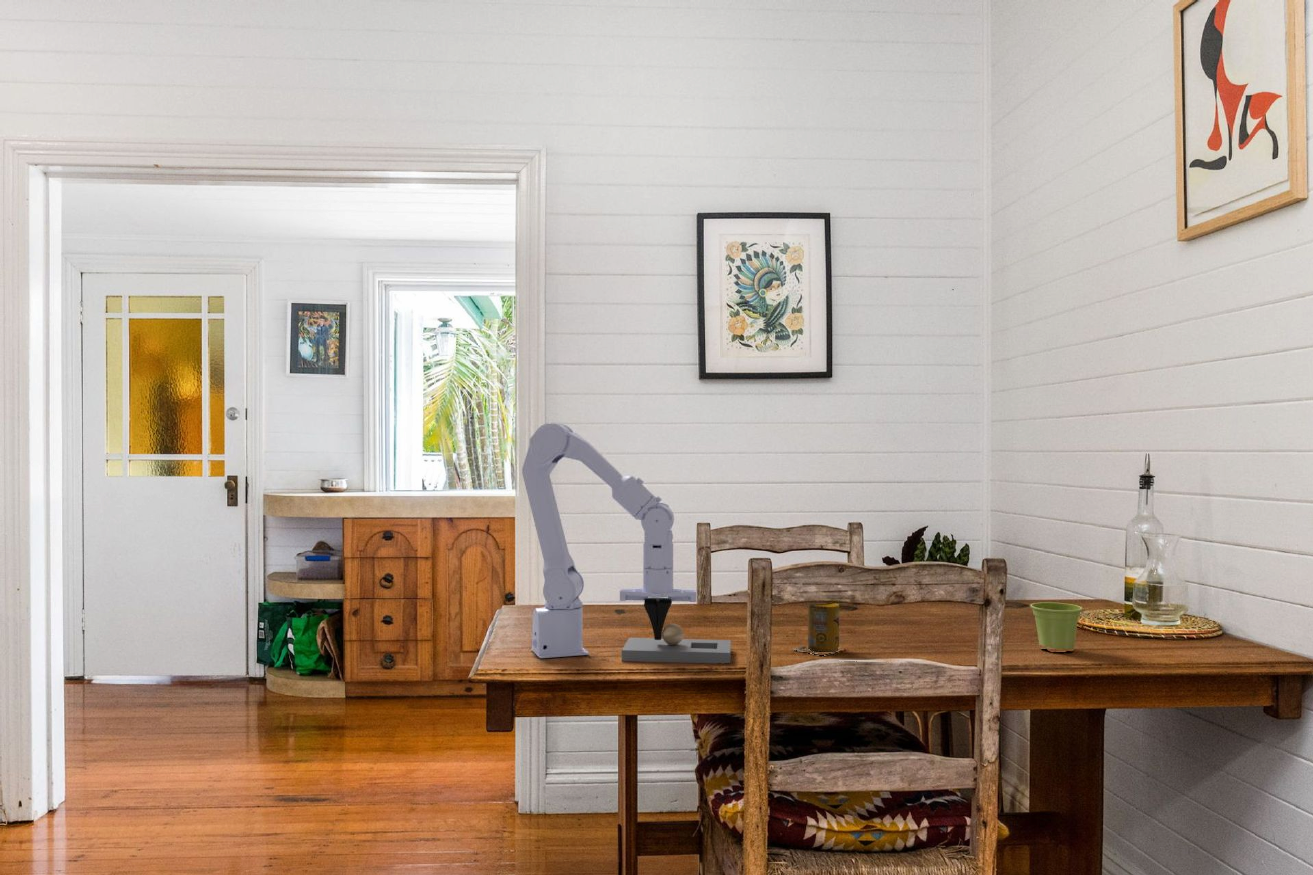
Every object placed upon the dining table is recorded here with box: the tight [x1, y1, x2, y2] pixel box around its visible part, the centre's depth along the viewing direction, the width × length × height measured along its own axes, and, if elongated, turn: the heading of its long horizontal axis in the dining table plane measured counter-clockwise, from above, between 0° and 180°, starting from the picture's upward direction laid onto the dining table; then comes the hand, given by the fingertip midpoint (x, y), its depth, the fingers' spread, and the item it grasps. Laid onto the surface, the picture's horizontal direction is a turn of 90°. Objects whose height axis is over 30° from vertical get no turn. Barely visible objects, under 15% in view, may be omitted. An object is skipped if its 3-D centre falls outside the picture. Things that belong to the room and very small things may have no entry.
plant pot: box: [1029, 601, 1083, 649], centre depth 177 cm, size 9×9×9 cm
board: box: [621, 637, 732, 665], centre depth 171 cm, size 20×11×2 cm, turn 85°
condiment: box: [792, 603, 840, 657], centre depth 176 cm, size 7×8×12 cm
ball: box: [662, 623, 684, 645], centre depth 171 cm, size 4×4×4 cm
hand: (658, 638), depth 171 cm, fingers closed
